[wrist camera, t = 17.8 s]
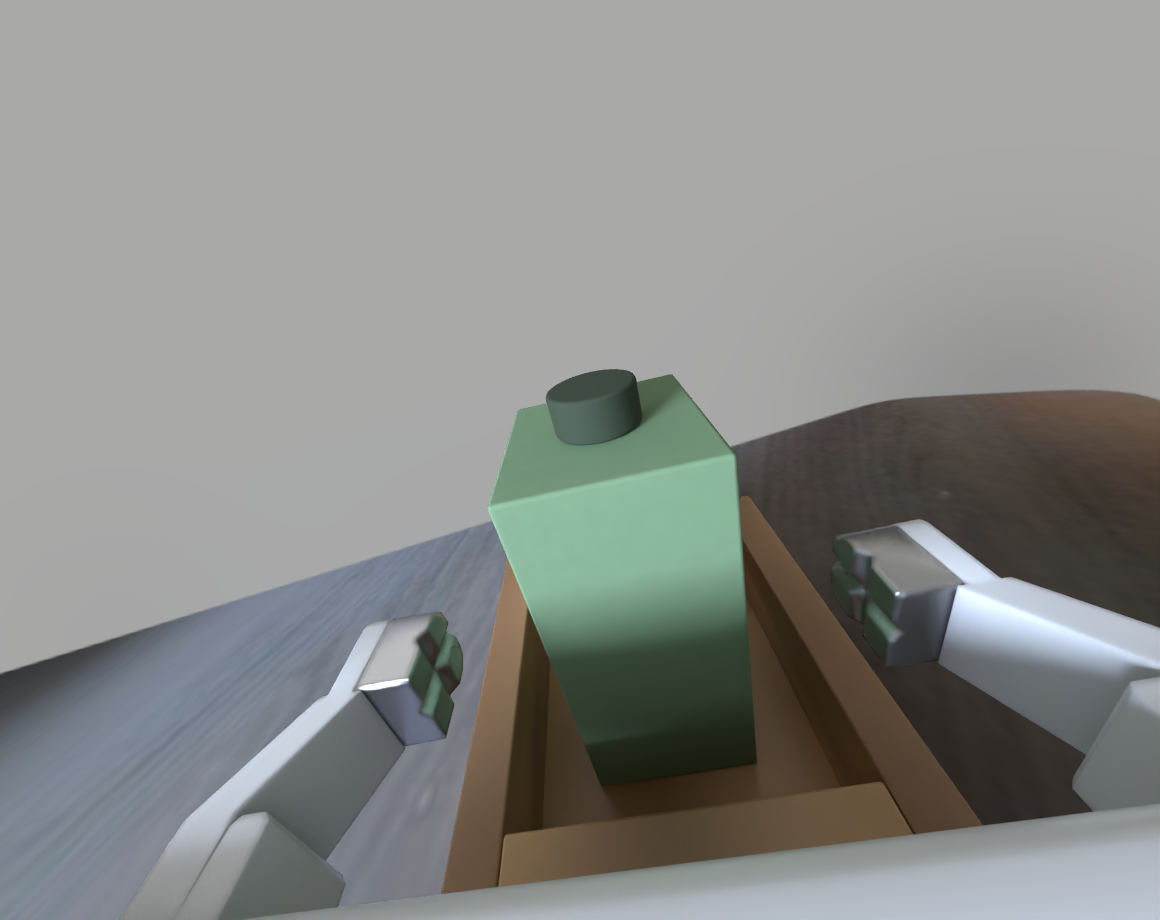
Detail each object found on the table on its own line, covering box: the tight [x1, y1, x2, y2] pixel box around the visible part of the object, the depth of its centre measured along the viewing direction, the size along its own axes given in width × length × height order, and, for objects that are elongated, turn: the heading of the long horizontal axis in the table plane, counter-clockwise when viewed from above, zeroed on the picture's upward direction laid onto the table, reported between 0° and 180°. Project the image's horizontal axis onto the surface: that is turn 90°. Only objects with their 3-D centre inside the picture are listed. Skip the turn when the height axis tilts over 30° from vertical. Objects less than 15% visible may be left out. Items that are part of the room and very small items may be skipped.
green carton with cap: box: [488, 369, 757, 786], centre depth 11 cm, size 4×5×11 cm
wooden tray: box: [441, 496, 983, 894], centre depth 13 cm, size 10×11×4 cm
